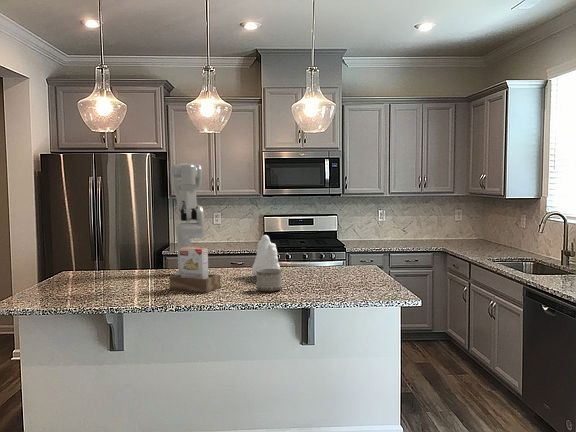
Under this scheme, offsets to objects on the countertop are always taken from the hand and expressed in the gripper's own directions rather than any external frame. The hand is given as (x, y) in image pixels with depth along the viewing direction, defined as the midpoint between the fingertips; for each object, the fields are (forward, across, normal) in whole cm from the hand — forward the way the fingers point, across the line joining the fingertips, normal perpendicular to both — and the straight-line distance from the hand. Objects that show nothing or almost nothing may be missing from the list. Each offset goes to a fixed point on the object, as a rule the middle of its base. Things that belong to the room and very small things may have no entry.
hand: (189, 219), depth 273 cm
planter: (+36, -4, +45) cm, 57 cm away
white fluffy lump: (+37, -33, +30) cm, 58 cm away
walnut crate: (+36, +6, +6) cm, 37 cm away
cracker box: (+35, +6, +6) cm, 36 cm away
